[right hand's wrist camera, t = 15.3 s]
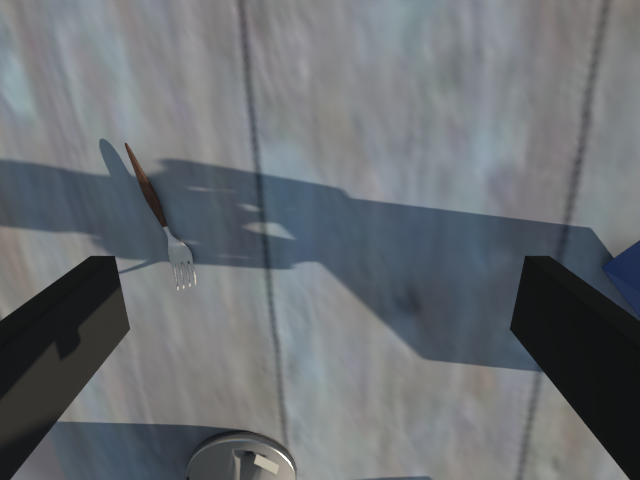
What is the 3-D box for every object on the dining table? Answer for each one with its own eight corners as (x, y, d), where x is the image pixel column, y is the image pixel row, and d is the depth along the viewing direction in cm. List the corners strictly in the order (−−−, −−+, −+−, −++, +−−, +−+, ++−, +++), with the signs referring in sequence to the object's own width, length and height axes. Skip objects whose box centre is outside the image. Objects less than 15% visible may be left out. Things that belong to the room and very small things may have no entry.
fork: (139, 138, 38) (130, 141, 36) (202, 276, 44) (197, 284, 42) (116, 146, 39) (105, 149, 37) (181, 282, 44) (175, 290, 42)
